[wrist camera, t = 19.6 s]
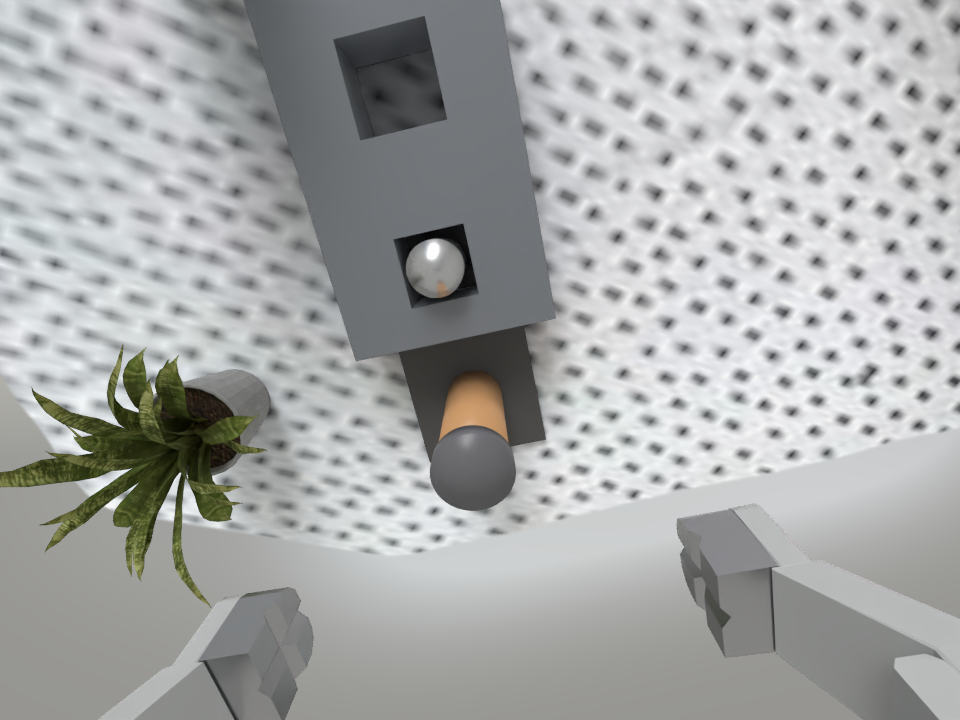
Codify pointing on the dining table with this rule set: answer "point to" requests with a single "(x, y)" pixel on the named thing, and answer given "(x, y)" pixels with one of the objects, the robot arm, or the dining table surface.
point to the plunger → (436, 267)
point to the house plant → (155, 451)
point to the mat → (486, 353)
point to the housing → (408, 164)
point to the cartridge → (473, 445)
